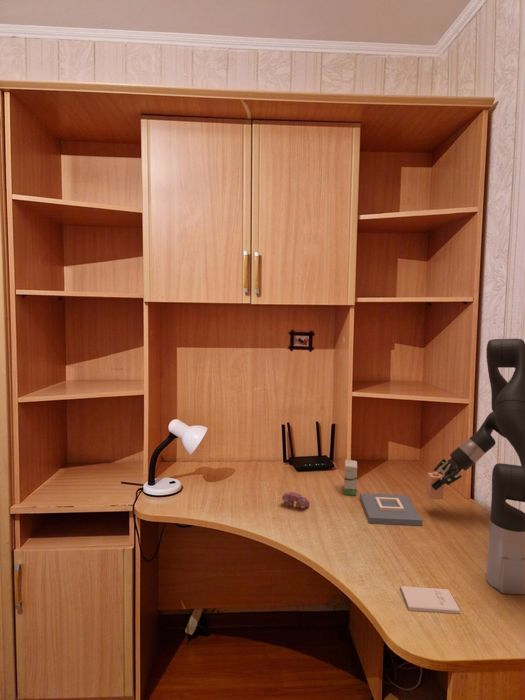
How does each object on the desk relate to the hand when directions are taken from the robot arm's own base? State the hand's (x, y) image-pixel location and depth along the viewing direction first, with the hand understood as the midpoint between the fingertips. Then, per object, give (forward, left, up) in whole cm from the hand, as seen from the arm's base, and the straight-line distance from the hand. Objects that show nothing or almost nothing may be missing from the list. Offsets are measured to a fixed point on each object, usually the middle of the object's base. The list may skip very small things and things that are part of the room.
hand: (431, 485), depth 156 cm
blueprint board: (0, +15, -11) cm, 18 cm away
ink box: (+16, +27, -11) cm, 33 cm away
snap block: (0, -1, -4) cm, 4 cm away
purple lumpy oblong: (+1, +49, -11) cm, 50 cm away
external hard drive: (-49, +16, -11) cm, 53 cm away
